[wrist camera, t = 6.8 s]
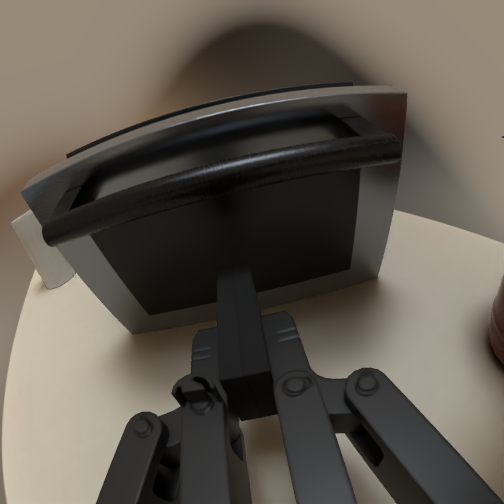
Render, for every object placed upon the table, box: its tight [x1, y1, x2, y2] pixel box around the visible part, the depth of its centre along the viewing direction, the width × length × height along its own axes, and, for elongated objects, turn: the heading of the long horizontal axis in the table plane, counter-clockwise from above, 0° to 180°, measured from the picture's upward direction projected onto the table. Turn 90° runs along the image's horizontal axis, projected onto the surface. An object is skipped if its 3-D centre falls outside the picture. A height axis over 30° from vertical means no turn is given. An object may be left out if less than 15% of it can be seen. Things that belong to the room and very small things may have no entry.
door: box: [21, 86, 407, 335], centre depth 16 cm, size 5×22×16 cm, turn 96°
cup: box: [11, 210, 76, 289], centre depth 34 cm, size 8×8×12 cm
